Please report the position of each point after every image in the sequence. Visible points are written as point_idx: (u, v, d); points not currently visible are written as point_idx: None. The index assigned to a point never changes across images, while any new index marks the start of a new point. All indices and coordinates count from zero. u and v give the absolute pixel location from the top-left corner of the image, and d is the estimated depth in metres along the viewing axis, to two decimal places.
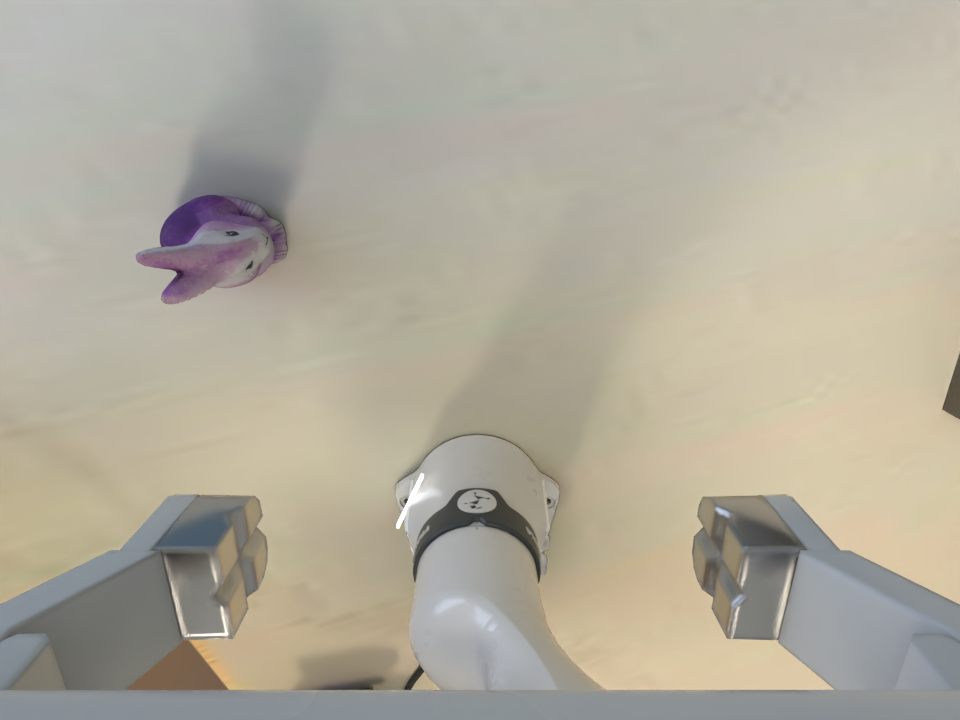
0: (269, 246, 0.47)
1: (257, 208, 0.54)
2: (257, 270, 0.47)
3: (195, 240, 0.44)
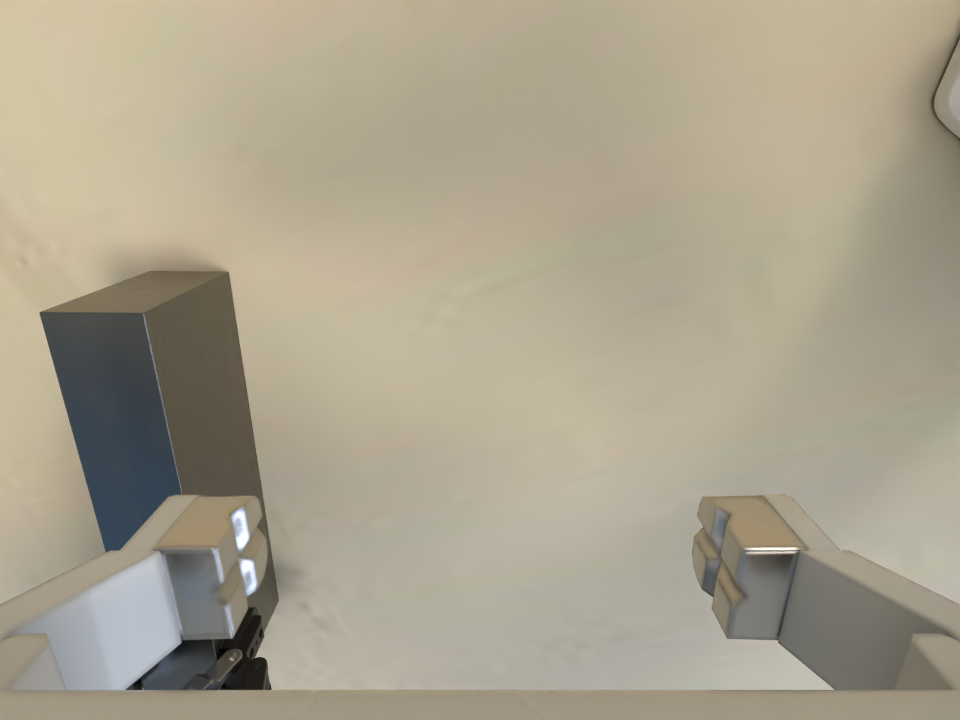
0: None
1: None
2: None
3: None
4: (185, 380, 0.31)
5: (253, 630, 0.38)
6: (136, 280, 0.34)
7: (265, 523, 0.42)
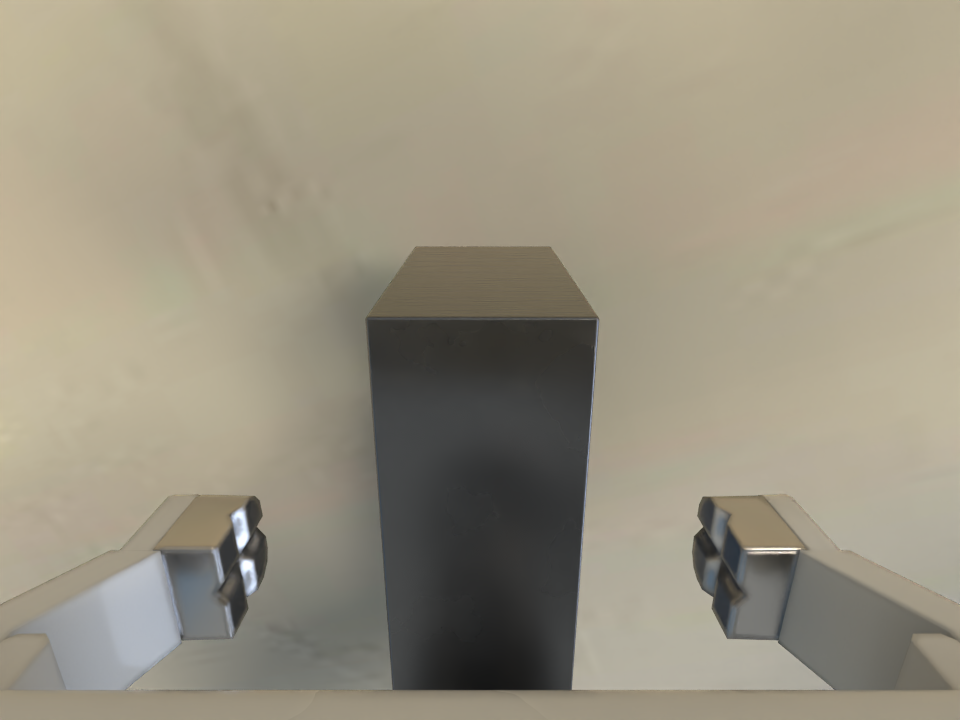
0: None
1: None
2: None
3: None
4: None
5: None
6: (427, 259, 0.19)
7: None
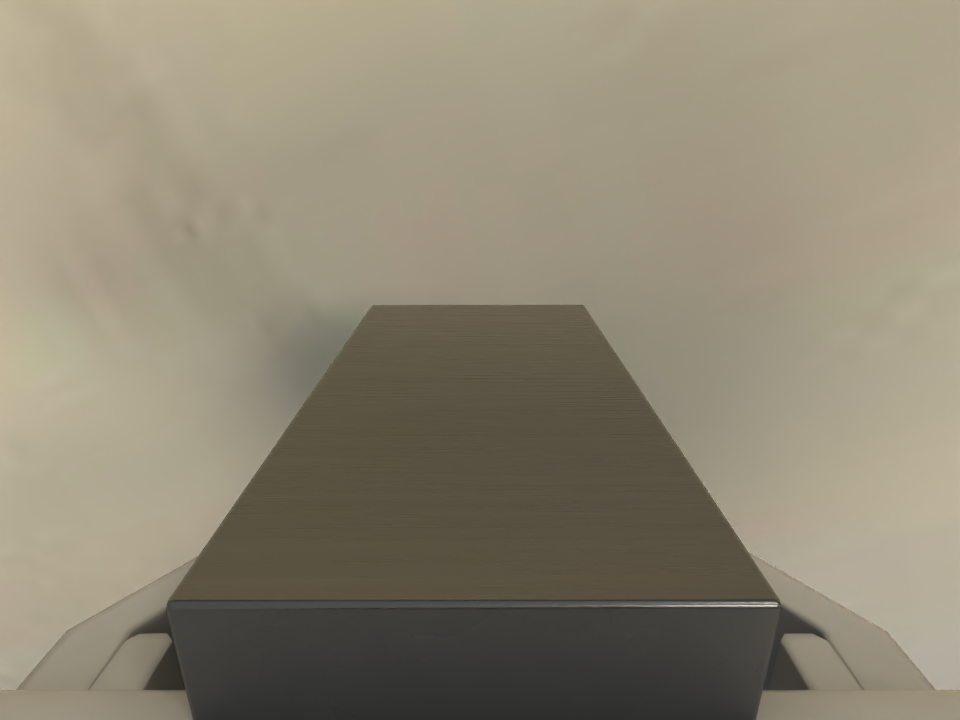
0: None
1: None
2: None
3: None
4: None
5: None
6: (383, 339, 0.11)
7: None
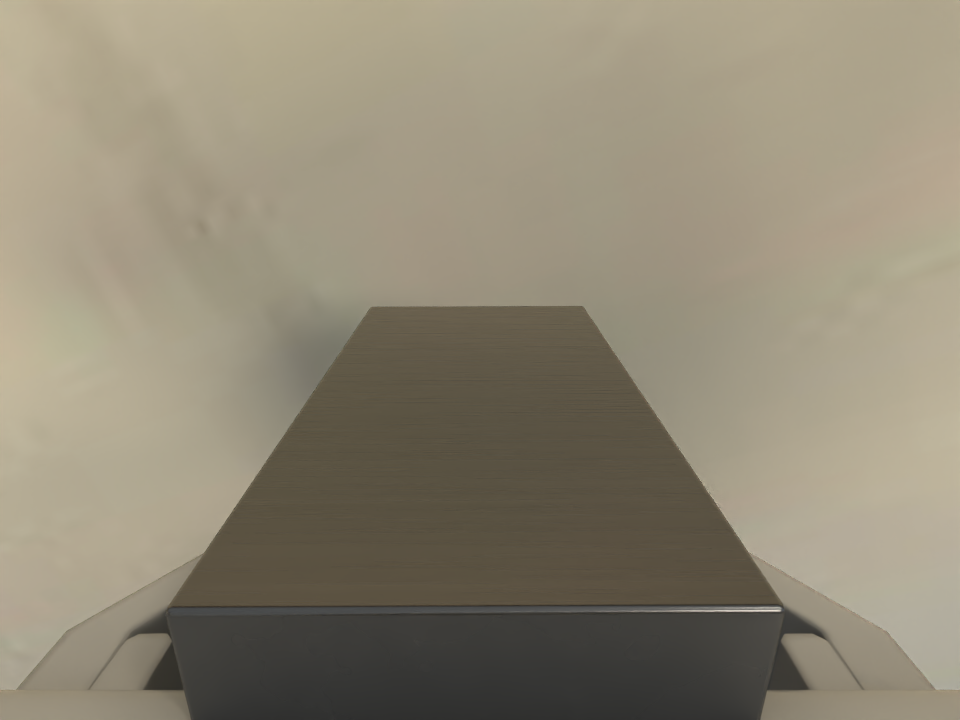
0: None
1: None
2: None
3: None
4: None
5: None
6: (382, 341, 0.11)
7: None
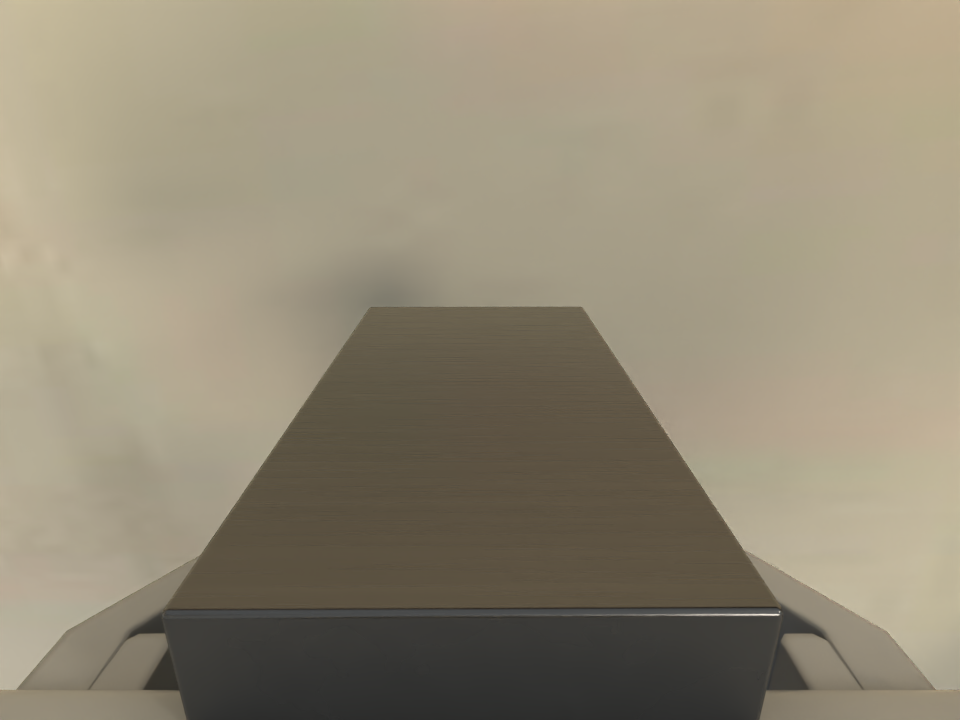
0: None
1: None
2: None
3: None
4: None
5: None
6: (381, 341, 0.11)
7: None
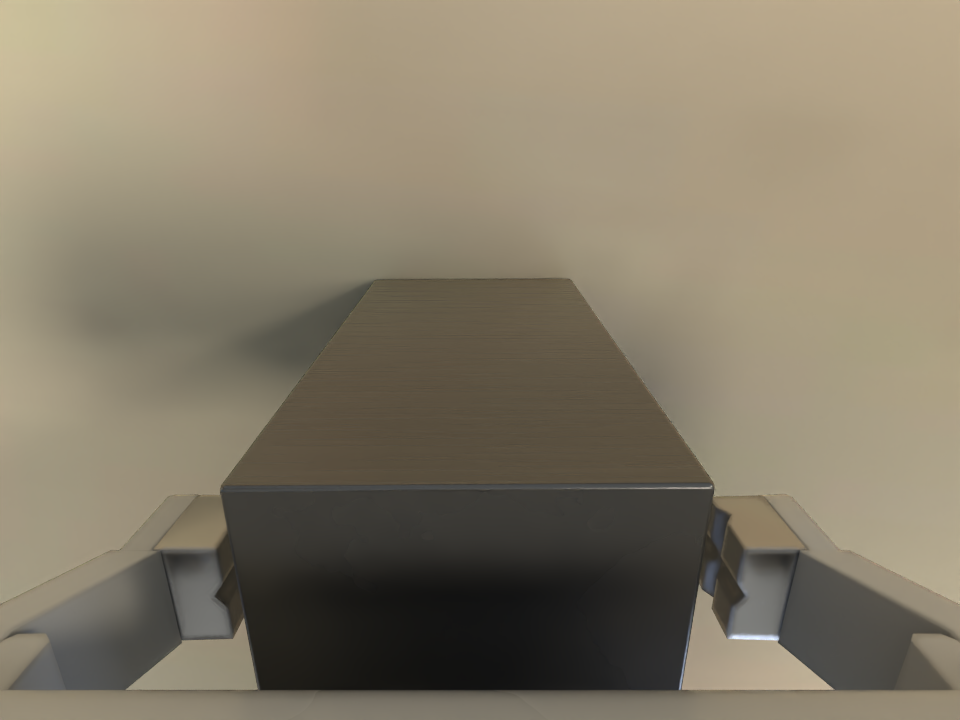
0: None
1: None
2: None
3: None
4: None
5: None
6: (386, 306, 0.12)
7: None
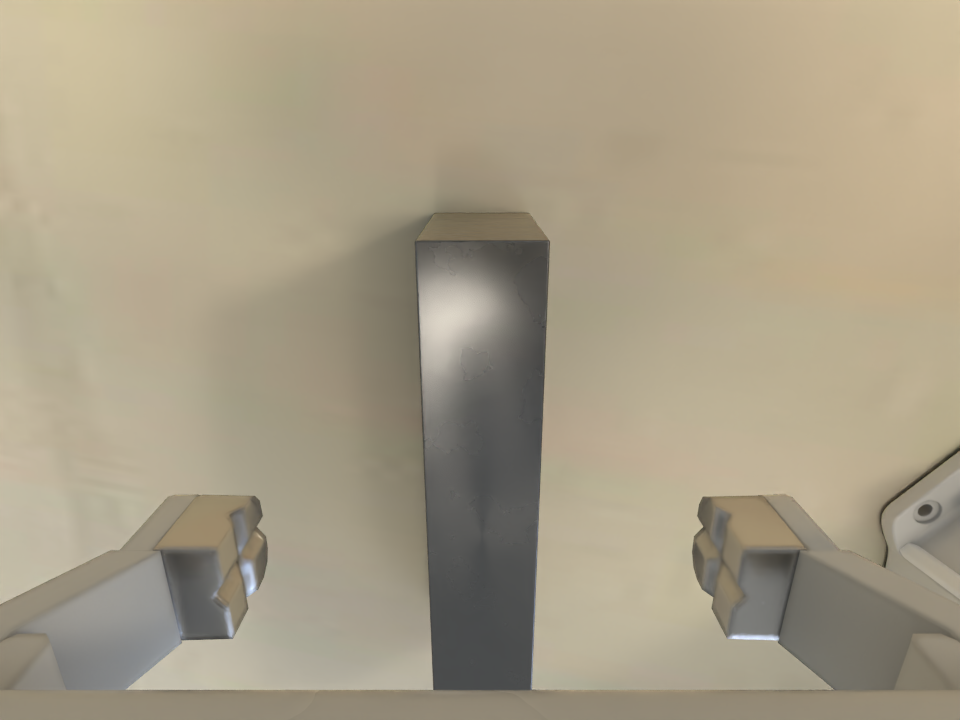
0: None
1: None
2: None
3: None
4: None
5: None
6: (444, 219, 0.28)
7: None
